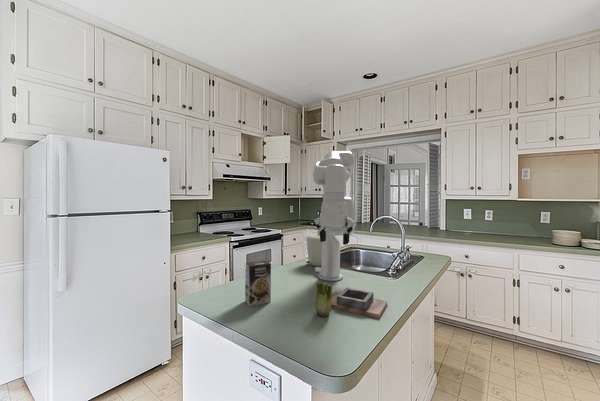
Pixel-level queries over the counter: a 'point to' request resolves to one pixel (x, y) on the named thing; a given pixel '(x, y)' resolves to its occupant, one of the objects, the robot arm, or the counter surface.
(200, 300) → the counter surface
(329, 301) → the fennel bulb
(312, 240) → the canister
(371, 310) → the collar stand
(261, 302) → the coffee box
